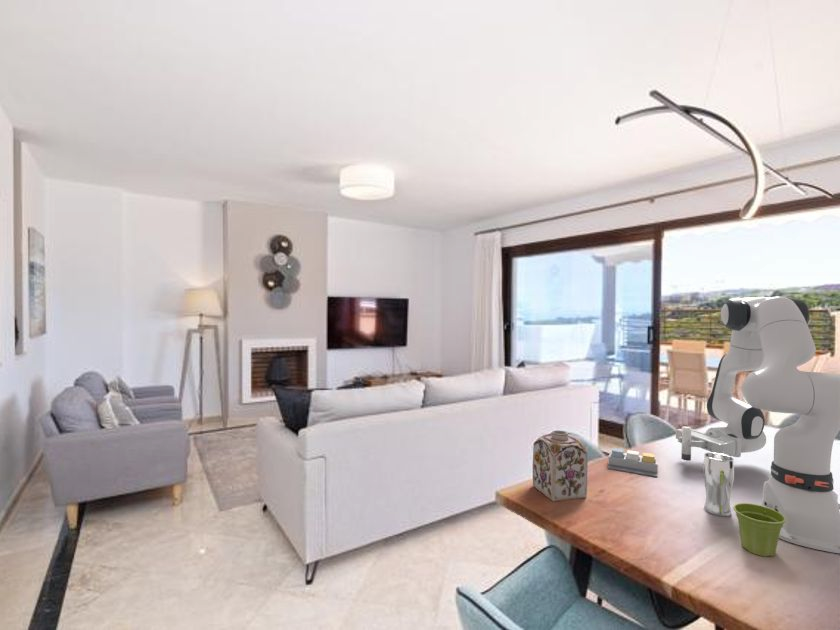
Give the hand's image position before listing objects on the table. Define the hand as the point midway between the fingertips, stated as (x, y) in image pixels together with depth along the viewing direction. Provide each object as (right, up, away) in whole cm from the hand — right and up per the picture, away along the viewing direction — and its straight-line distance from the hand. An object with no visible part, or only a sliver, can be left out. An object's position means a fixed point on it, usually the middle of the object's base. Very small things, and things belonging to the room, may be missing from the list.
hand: (684, 441), depth 149 cm
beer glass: (-10, -10, -32) cm, 35 cm away
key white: (-17, -7, +1) cm, 19 cm away
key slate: (-22, -7, +3) cm, 23 cm away
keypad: (-17, -9, +1) cm, 20 cm away
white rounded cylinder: (+1, -6, 0) cm, 6 cm away
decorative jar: (-50, -9, -20) cm, 54 cm away
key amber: (-13, -7, -2) cm, 15 cm away
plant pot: (-14, -10, -50) cm, 53 cm away
